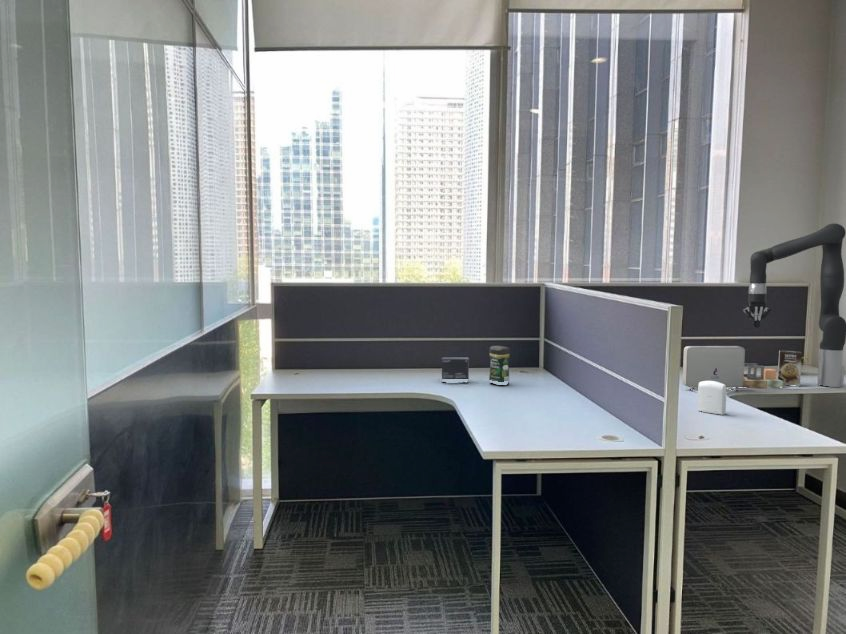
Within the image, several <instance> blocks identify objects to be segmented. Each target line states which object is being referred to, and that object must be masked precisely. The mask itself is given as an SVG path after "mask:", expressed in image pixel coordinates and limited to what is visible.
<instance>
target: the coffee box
mask: <svg viewBox="0 0 846 634" xmlns="http://www.w3.org/2000/svg"><path fill="white" fill-rule="evenodd" d="M802 357H803V352H802V351H797V350H784V349H783V350H781V349H779V351H778V365H777V366H778V367H777V379H779V380H781V381H783V385H796V386H800V387H801V374H802V365H801V364H802V360H803V359H802Z"/></svg>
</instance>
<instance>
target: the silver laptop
mask: <svg viewBox="0 0 846 634" xmlns="http://www.w3.org/2000/svg"><path fill="white" fill-rule="evenodd" d="M745 354H746V349H745V348H744V347H742V346H739V345H702V346H701V345H687V346H685V347H684V348H683V358H682V359H683V361H682V363H683V364H682V365H683V366H682V384H683V386H686V387H688V388H690V389H692V390H694V391H693V392H695V391H698V389H693V388H698V385H699V383H700V382H702V381H716V382H719V383H722V384H724V385H726V388H728V389H727V390H726V393H736V391H737V390H736V388H732V387H742V386H743V381H744V374H745V365H744V363H745ZM690 389H689V390H690ZM729 389H731V390H732V391H731V390H729ZM692 390H691V391H692Z"/></svg>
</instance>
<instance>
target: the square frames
mask: <svg viewBox="0 0 846 634" xmlns="http://www.w3.org/2000/svg"><path fill="white" fill-rule="evenodd" d="M744 366H746V367H747V373H744V377H747V379H750V380H764V369H765V366H764V365H758V363H754V362H753V363H746V362H744ZM752 369H753V373H751V372H752V371H751V370H752ZM757 369H760V375H761V377H756V375H758V374H757Z"/></svg>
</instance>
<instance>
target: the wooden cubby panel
mask: <svg viewBox="0 0 846 634" xmlns="http://www.w3.org/2000/svg"><path fill="white" fill-rule="evenodd" d="M756 377H761V374H756ZM742 387H747V388H746V389H781V388H780V387H782V388H783V381H781V380H779V379H778V378H776V379H764V380H750V379H747V377H744V381H743V386H742Z"/></svg>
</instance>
